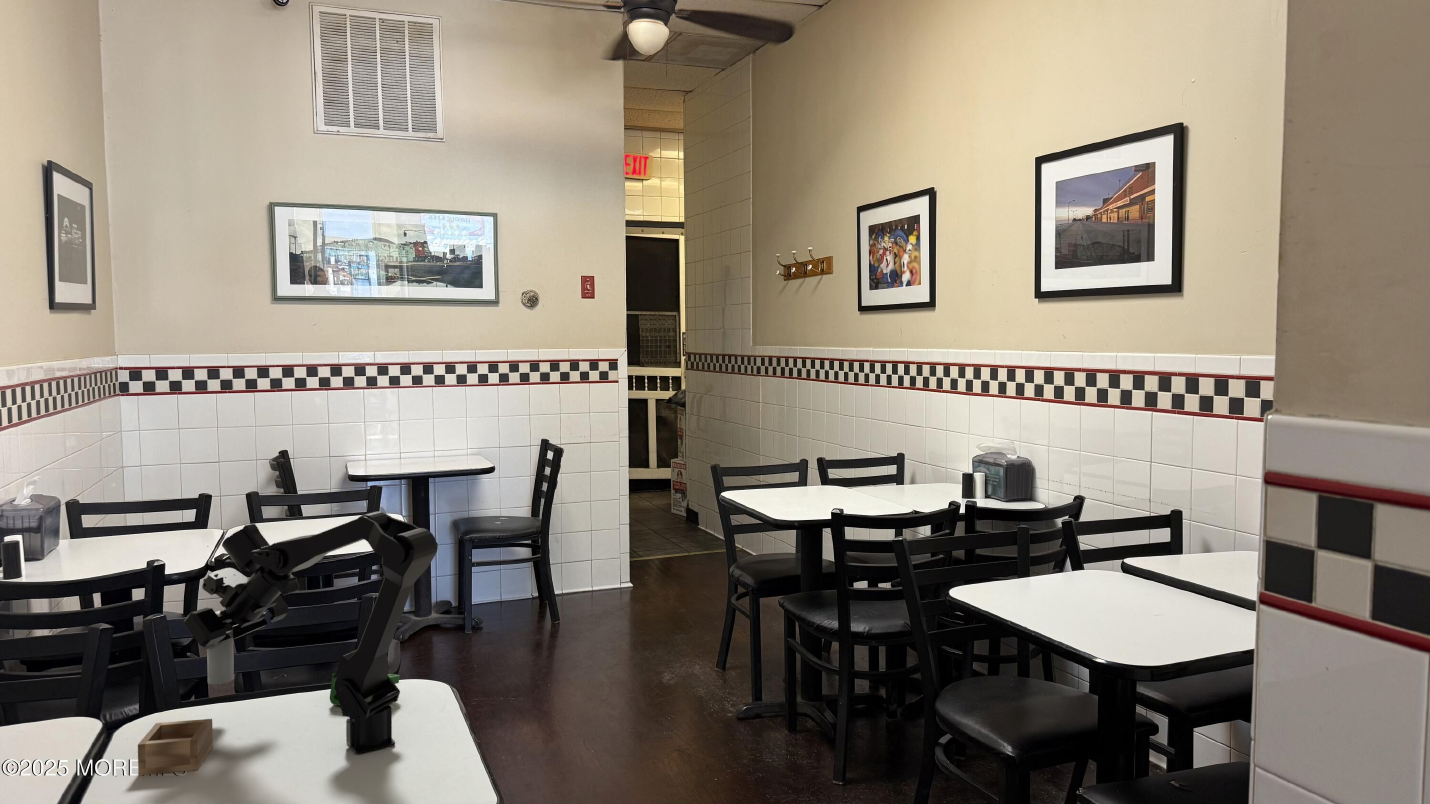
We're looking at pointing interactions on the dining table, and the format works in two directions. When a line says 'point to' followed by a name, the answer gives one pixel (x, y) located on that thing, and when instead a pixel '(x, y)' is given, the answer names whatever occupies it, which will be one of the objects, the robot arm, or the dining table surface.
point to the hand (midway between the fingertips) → (214, 643)
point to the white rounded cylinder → (221, 661)
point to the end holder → (175, 747)
